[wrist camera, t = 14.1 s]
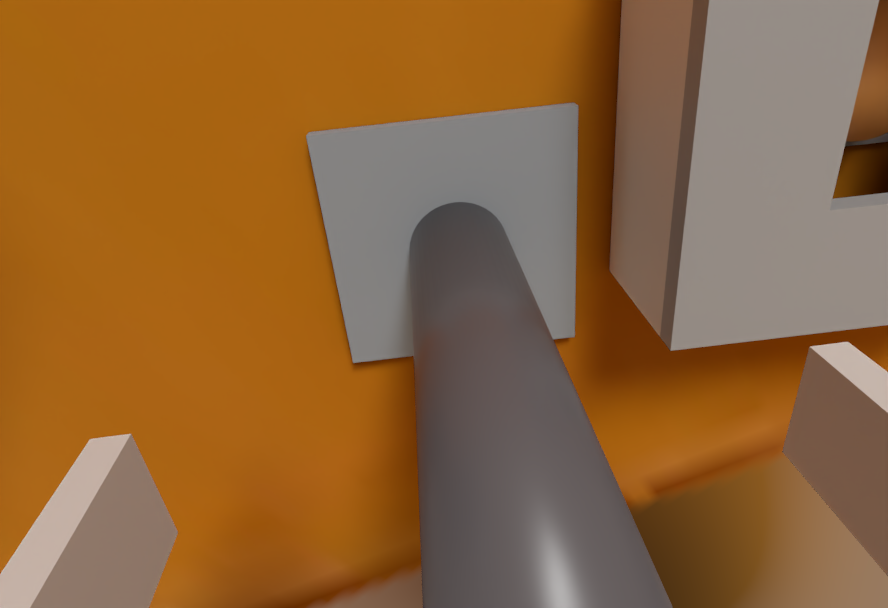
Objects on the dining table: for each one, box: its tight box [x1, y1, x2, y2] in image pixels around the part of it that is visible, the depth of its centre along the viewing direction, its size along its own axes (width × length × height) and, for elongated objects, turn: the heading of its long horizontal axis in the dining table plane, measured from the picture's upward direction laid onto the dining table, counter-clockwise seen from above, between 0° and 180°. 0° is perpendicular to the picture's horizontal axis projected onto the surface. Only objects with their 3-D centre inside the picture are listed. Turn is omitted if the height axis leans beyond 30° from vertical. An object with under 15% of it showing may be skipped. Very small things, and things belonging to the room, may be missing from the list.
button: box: [846, 0, 888, 142], centre depth 18 cm, size 4×4×2 cm
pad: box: [306, 103, 578, 363], centre depth 21 cm, size 9×9×1 cm
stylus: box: [410, 202, 673, 608], centre depth 14 cm, size 4×4×17 cm
